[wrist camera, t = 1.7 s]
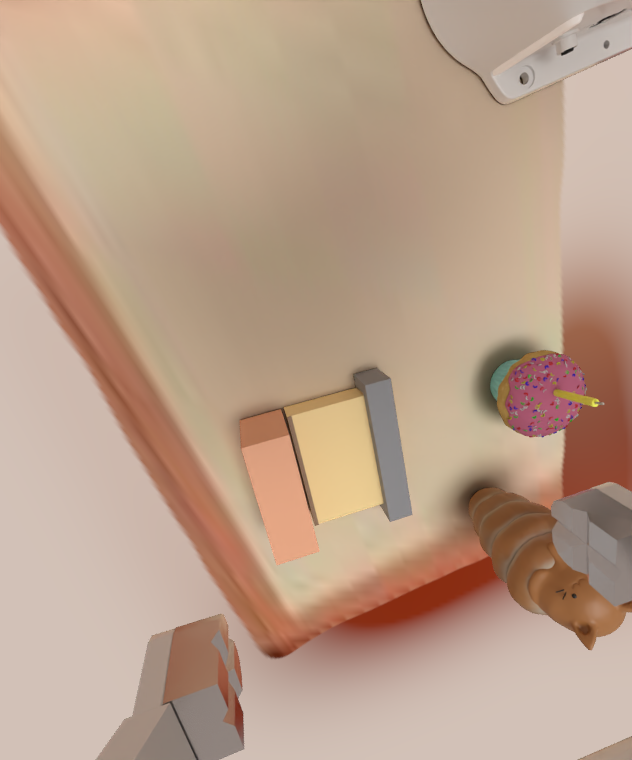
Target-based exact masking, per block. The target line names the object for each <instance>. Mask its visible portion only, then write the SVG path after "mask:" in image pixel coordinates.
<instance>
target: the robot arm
mask: <svg viewBox="0 0 632 760" xmlns="http://www.w3.org/2000/svg"><path fill="white" fill-rule="evenodd" d="M421 3H422V6H423V9H424V12H425V15H426V18H427V20H428V22H429V24H430V26H431V28H432V30H433V32H434V34H435V35H436V37H437V39H438V40H439V41H440V43H441V44H442V45H443V47H444V48H445V49H446V50H447V51H448V52H449V53H450V54H451V55H452V56H453V57H454V58H455V59H456V60H458V61H459V62H460V63H462V64H463V65H465V66H466V67H468V68H470V69H471V70H473V71H474V72H475V73H477V74H478V75H479V76H480V77H481V78H482V80H483V81H484V83H485V85H486V86H487V88H488V89H489V91H490V92H491V94H492V95H493V97H494V98H495V99H496V100H497V101H498V102H500V103H502V104H509V103H512V102H514V101H517V100H519V99H521V98H523V97H525V96H528V95H530V94H532V93H534V92H537V91H539V90H541V89H543V88H546V87H548V86H550V85H552V84H555V83H557V82H559V81H561V80H563V79H566V78H568V77H570V76H572V75H575V74H577V73H579V72H581V71H584V70H586V69H588V68H590V67H592V66H594V65H597V64H599V63H601V62H604V61H606V60H608V59H610V58H612V57H615V56H617V55H619V54H622V53H624V52H626V51H628V50H630V49H632V0H421ZM520 76H521V77H522V79H523V84H521V83H520ZM551 515H552V516H553V517H554V518H555V519H556V520H557V522H556V524H555V526H554V527H553V529H552V539H553V544H554V546H555V548H556V550H557V552H558V554H559V555H560V557H561V558H562V559H563V561H564V562H565V563H566V564H567V565H568V566H570V567H571V568H572V569H573V570H575V571H578V572H581V573H584V574H587V578H588V582H589V584H590V585H591V586H592V587H593V588H594V589H595V590H596V591H597V592H599V593H600V594H601V595H602V596H603V597H604V598H605V599H607V600H608V601H609V602H610V603H611V604H612V605H613V606H614V607H615V606H618V605H621V604H624V603H627V602H629V601H632V492H631V491H629V490H627V489H625V488H623V487H622V486H620V485H618V484H616V483H612V482H607V483H604V484H602V485H599V486H596V487H593V488H591V489H588V490H585V491H582V492H579V493H576V494H574V495H571V496H568V497H565V498H562V499H559V500H556V501H554V502H553V504H552V506H551ZM241 692H242V674H241V667H240V660H239V656H238V652H237V649H236V646H235V643H234V641H233V640H231V639H229V638H228V624H227V622H226V619H225V617H224V615H223V614H218V615H215V616H212V617H209V618H206V619H203V620H199V621H196V622H193V623H189V624H187V625H183V626H180V627H176V628H175V629H172V630H169V631H166V632H162V633H159V634H155V635H153V636H152V637H151V639H150V641H149V642H148V645H147V650H146V654H145V660H144V664H143V669H142V673H141V678H140V683H139V688H138V692H137V697H136V701H135V706H134V711H133V715H132V717H129V718H126V719H124V721H123V722H122V724H121V725H120V726H119V728H118V729H117V731H116V732H115V733H114V735H113V736H112V738H111V739H110V740H109V742H108V743H107V745H106V746H105V747H104V749H103V750H102V752H101V753H100V755H99V756H98V757H97V759H96V760H219V759H222V758H224V757H226V756H228V755H231V754H234V753H236V752H238V751H241V750H243V749H244V724H243V711H242V708H241V705H240V703H239V700H238V698H239V696H240V694H241ZM578 760H632V736H631V737H629V738H626V739H624V740H622V741H620V742H617V743H615V744H613V745H610V746H608V747H606V748H603V749H601V750H599V751H597V752H594V753H592V754H590V755H587V756H585V757H583V758H580V759H578Z"/></svg>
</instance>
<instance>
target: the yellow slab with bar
mask: <svg viewBox="0 0 632 760" xmlns="http://www.w3.org/2000/svg"><path fill="white" fill-rule="evenodd" d="M353 375H354V381H355V386H356V388H353V389H349V390H345V391H342V392H338V393H334V394H331V395H327V396H323V397H320V398H316V399H313V400H309V401H305V402H302V403H298V404H294V405H291V406H287V407H284V411H285V415H286V419H287V422H288V426H289V430H290V434H291V438H292V442H293V446H294V450H295V453H296V457H297V461H298V465H299V469H300V473H301V477H302V480H303V484H304V488H305V492H306V496H307V500H308V504H309V508H310V511H311V514H312V518H313V521H314V524H315V526H316V525H319V524H320V523H323V522H326V521H330V520H333V519H336V518H339V517H342V516H345V515H349V514H352V513H355V512H358V511H361V510H364V509H368V508H371V507H374V506H377V505H380V506H381V508H382V509H383V511H384V513H385V514H386V516H387V517H388V519H389V521H390V522H391V521H394V520H397V519H400V518H404V517H407V516H410V515H412V509H411V503H410V496H409V490H408V484H407V478H406V471H405V465H404V459H403V453H402V447H401V440H400V434H399V428H398V422H397V415H396V409H395V403H394V397H393V390H392V384H391V379H390V378H389V377H388V376H387V375H385V374H384V373H383V372H381V371H380V370H379V369H377V368H375V369H371V370H367V371H364V372H360V373H356V374H353Z"/></svg>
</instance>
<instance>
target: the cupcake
mask: <svg viewBox="0 0 632 760" xmlns="http://www.w3.org/2000/svg"><path fill="white" fill-rule="evenodd" d="M583 375H584V373H582V372H581V369H580V367H578V365H577V364H576V363H575V362H574V361H573V360H572V359H570V357H568V356H566V355H563V354H559V353H556V352H553V351H546V350H541V351H537V352H532V353H528V354H526V355H525V356H523V357H522V358H521V359H520V360H510V361H507V362H505V363H503V364H501V365H500V366H499V367H498V368H497V369H496V370H495V372H494V374H493V376H492V378H491V382H490V389H491V393H492V395H493V397H494V398H495V399H496V400H497V407H498V410H499V413H500V415H501V417H502V419H503V421H504V423H505V425H506V426H508V427H509V428H511V429H513V430H514V431H516V432H518V433H520V434H523V435H525V436H529V437H540V436H542V437H544V436H546V435H551V434H552V433H557V431H560V430H562V429H565V427H567V424H569V422H571V421H572V420H573V419H574V418H575V417H577V416H578V414H577V413H579V412H578V411H580V409H581V408H582V407H581V405H583V404H586V405H589V406H593V407H596V406H598V405H604V403H601V402H599V400H597V399H595V398H591V397H587V396H585V394H586V392H585V391H586V390H587V388H586V390H585V386H586V385H585V384H584V378H583ZM576 415H577V416H576Z"/></svg>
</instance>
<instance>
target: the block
mask: <svg viewBox="0 0 632 760" xmlns="http://www.w3.org/2000/svg"><path fill="white" fill-rule="evenodd" d="M240 438H241V450H242V453H243V457H244V460H245V463H246V466H247V470H248V473H249V476H250V479H251V483H252V486H253V489H254V492H255V496H256V499H257V502H258V505H259V509H260V512H261V515H262V519H263V522H264V525H265V528H266V532H267V535H268V538H269V541H270V545H271V548H272V551H273V554H274V558H275V561H276V564H277V565H279V564H282V563H285V562H288V561H291V560H294V559H297V558H301V557H304V556H307V555H310V554H313V553H316V552H319V547H318V543H317V539H316V536H315V532H314V528H313V524H312V520H311V516H310V512H309V509H308V505H307V501H306V497H305V493H304V489H303V485H302V482H301V478H300V474H299V470H298V466H297V462H296V458H295V455H294V451H293V447H292V443H291V439H290V435H289V432H288V429H287V426H286V423H285V420H284V417H283V414H282V411H281V409H279V410H275V411H272V412H268V413H265V414H261V415H257V416H254V417H250V418H246V419H243V420H240Z"/></svg>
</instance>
